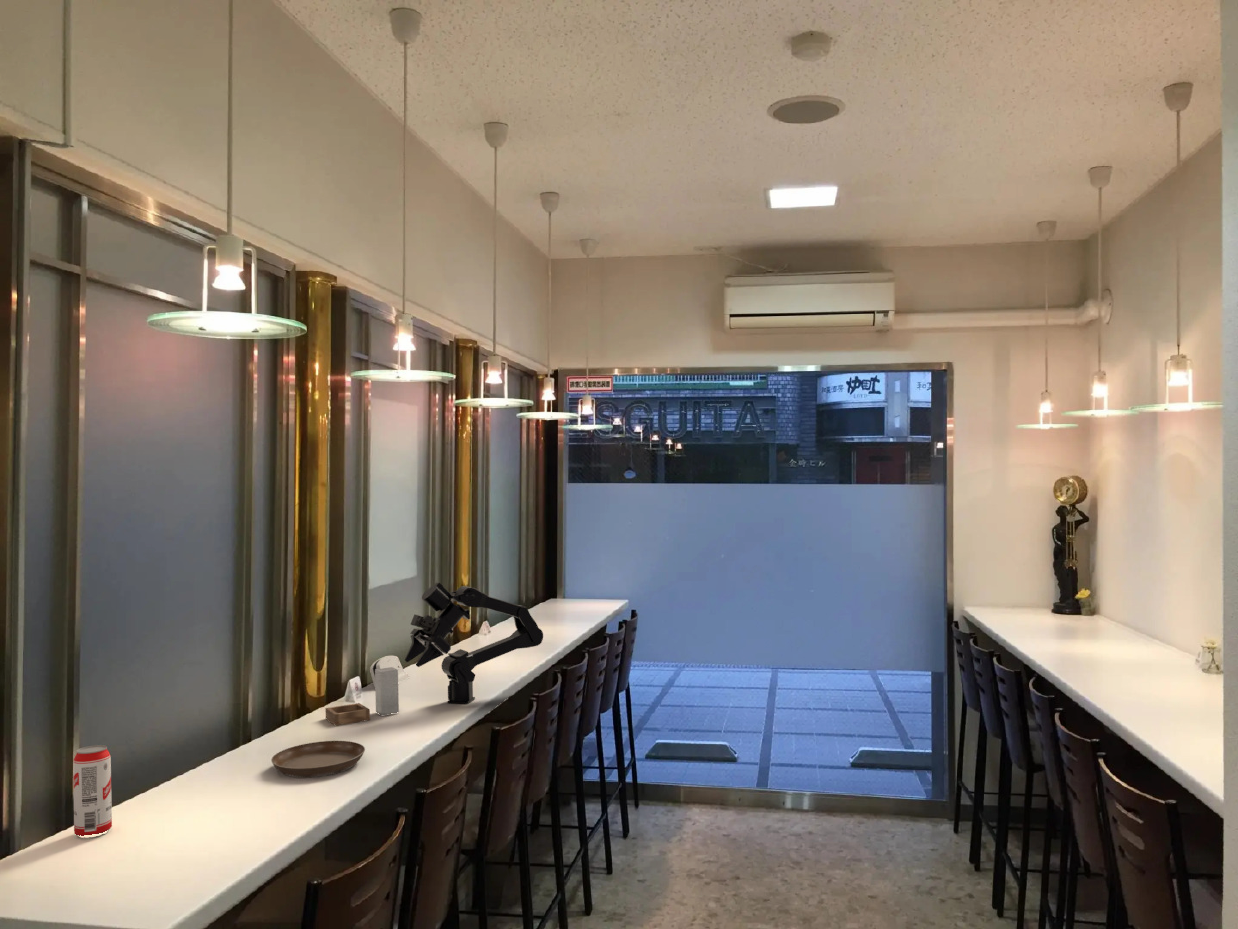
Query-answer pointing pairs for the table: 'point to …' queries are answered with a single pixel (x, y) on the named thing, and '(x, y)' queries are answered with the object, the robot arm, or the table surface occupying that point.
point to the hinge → (386, 663)
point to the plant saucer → (318, 758)
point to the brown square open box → (347, 714)
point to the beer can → (92, 790)
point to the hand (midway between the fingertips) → (411, 663)
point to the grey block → (386, 690)
